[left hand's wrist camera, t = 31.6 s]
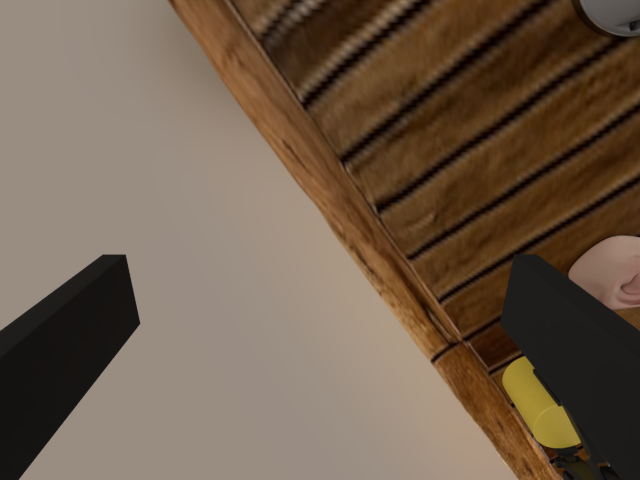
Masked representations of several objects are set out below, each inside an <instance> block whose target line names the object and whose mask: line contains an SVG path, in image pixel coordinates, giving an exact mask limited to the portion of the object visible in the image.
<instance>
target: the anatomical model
mask: <svg viewBox="0 0 640 480" xmlns="http://www.w3.org/2000/svg"><path fill="white" fill-rule="evenodd" d="M569 279H571V280H572V281H573V282H575V283H576V284H577V285H579V286H580V287H581V288H583V289H584V290H585V291H587V292H588V293H589V294H591V295H592V296H593V297H595V298H596V299H597V300H599V301H600V302H602V303H603V304H604V305H606V306H607V307H608V308H610V309H611V310H617V309H625V308H634V307H640V238H639V237H633V236H614V237H610V238H607V239H605V240H603V241H601V242H600V243H598V244H596V245H595V246H593V247H592V248H591V249H589V250H588V251H587V252H586V253H585V254H584V255H583V256H581V257H580V258H579V259H578V260H577V261H576V262H575V264H574V265H573V266H572V267H571V269H570V271H569Z"/></svg>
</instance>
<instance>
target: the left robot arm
mask: <svg viewBox="0 0 640 480" xmlns="http://www.w3.org/2000/svg"><path fill="white" fill-rule="evenodd" d="M572 3H573V6H574V8H575V10H576V12H577V14H578V16H579V17H580V18H581V20H582V21H583V22H584V23H585V24H586V25H587V26H588V27H589V28H591V29H592V30H593V31H595V32H597V33H599V34H601V35H604V36H608V37H614V38H627V37H633V36H639V35H640V0H572ZM139 325H140V320H139V315H138V311H137V306H136V301H135V297H134V292H133V287H132V282H131V278H130V273H129V268H128V263H127V259H126V255H102V256H100V257H99V258H98V259H96V260H95V261H94V262H92V263H91V264H90V265H88V266H87V267H86V268H84V269H83V270H82V271H80V272H79V273H78V274H76V275H75V276H74V277H72V278H71V279H69V280H68V281H67V282H65V283H64V284H63V285H61V286H60V287H59V288H57V289H56V290H55V291H53V292H52V293H51V294H49V295H48V296H47V297H45V298H44V299H43V300H41V301H40V302H39V303H37V304H36V305H34V306H33V307H32V308H30V309H29V310H28V311H26V312H25V313H24V314H22V315H21V316H20V317H18V318H17V319H16V320H14V321H13V322H12V323H10V324H9V325H8V326H6V327H5V328H4V329H2V330H1V331H0V480H19V479H20V477H21V476H22V475H23V473H24V472H25V471H26V470H27V468H28V467H29V466H30V464H31V463H32V462H33V461H34V459H35V458H36V457H37V455H38V454H39V453H40V452H41V450H42V449H43V448H44V446H45V445H46V444H47V443H48V441H49V440H50V439H51V437H52V436H53V435H54V434H55V432H56V431H57V430H58V428H59V427H60V426H61V425H62V423H63V422H64V421H65V420H66V418H67V417H68V416H69V414H70V413H71V412H72V411H73V409H74V408H75V407H76V405H77V404H78V403H79V402H80V400H81V399H82V398H83V396H84V395H85V394H86V393H87V391H88V390H89V389H90V387H91V386H92V385H93V384H94V382H95V381H96V380H97V378H98V377H99V376H100V375H101V373H102V372H103V371H104V369H105V368H106V367H107V366H108V364H109V363H110V362H111V361H112V359H113V358H114V357H115V355H116V354H117V353H118V352H119V350H120V349H121V348H122V346H123V345H124V344H125V343H126V341H127V340H128V339H129V337H130V336H131V335H132V334H133V332H134V331H135V330H136V329H137V327H138V326H139ZM500 325H501V326H502V327H503V329H504V330H505V331H506V332H507V334H508V335H509V336H510V337H511V339H512V340H513V341H514V343H515V344H516V345H517V346H518V348H519V349H520V350H521V352H522V353H523V354H524V355H525V357H526V358H527V359H528V361H529V362H530V363H531V364H532V366H533V367H534V368H535V370H536V371H537V372H538V373H539V375H540V376H541V377H542V379H543V380H544V381H545V382H546V384H547V385H548V386H549V387H550V389H551V390H552V391H553V393H554V394H555V395H556V396H557V398H558V399H559V400H560V402H561V403H562V404H563V405H564V407H565V408H566V409H567V411H568V412H569V413H570V414H571V416H572V417H573V418H574V420H575V421H576V422H577V423H578V425H579V426H580V427H581V429H582V430H583V431H584V432H585V434H586V435H587V436H588V438H589V439H590V440H591V441H592V443H593V444H594V445H595V446H596V448H597V449H598V450H599V452H600V453H601V454H602V455H603V457H604V458H605V459H606V461H607V462H608V463H609V464H610V466H611V467H612V468H613V470H614V471H615V472H616V473H617V475H618V476H619V477H620V479H621V480H640V331H639V330H638V329H636V328H635V327H634V326H632V325H631V324H630V323H628V322H627V321H626V320H624V319H623V318H622V317H620V316H619V315H618V314H616V313H615V312H614V311H612V310H611V309H610V308H608V307H607V306H606V305H604V304H603V303H601V302H600V301H599V300H597V299H596V298H595V297H593V296H592V295H591V294H589V293H588V292H587V291H585V290H584V289H583V288H581V287H580V286H579V285H577V284H576V283H575V282H573V281H572V280H571V279H569V278H568V277H567V276H565V275H564V274H562V273H561V272H560V271H558V270H557V269H556V268H554V267H553V266H552V265H550V264H549V263H548V262H546V261H545V260H544V259H542V258H541V257H540V256H538V255H514V259H513V263H512V268H511V273H510V278H509V282H508V287H507V292H506V297H505V301H504V306H503V311H502V315H501V320H500Z"/></svg>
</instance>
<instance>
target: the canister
mask: <svg viewBox="0 0 640 480" xmlns="http://www.w3.org/2000/svg"><path fill="white" fill-rule="evenodd" d="M533 369H535V368H534V367H533V366H532V364H531V363H530V362H529V361H528V359H527V358H526V357H525V356H524V357H521V358H519V359H517V360H515V361H514V362H512V363H511V364H510V365H509V366H508V367H507V369H506V370H505V372H504V374H503V378H502V382H503V386H504V388H505V390H506V391H507V393H508V395H509V396H510V398H511V400H512V401H513V403H514V404H515V406H516V408H517V409H518V411H519V412H520V414H521V416H522V417H523V419H524V420H525V422H526V424H527V425H528V427H529V428H530V430H531V432H532V433H533V435H534V437H535V438H536V439H537V441H538V442H540V443H541V444H543V445H545V446H547V447H551V448H566V447H571V446H574V445H577V444H579V443H581V441H580V439H579V437H578V435H577V433H576V432H575V430H574V428H573V426H572V424H571V422H570V420H569V418H568V416H567V414H566V412H565V410H564V408H563V407H562V406H559V407H558V405H557V404H556V403H555V401H554V400H553V399H552V397H551V396H550V395H549V393H548V392H547V391H546V389H545V388H544V387H543V386H542V384H541V383H540V382H539V380H538V379H537V378H536V376H535V375H534V374H533Z"/></svg>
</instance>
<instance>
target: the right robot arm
mask: <svg viewBox="0 0 640 480" xmlns="http://www.w3.org/2000/svg"><path fill="white" fill-rule="evenodd" d="M533 374H534V375H535V376H536V378H537V379H538V380H539V382H540V383H541V384H542V386H543V387H544V388H545V389H546V391H547V392H548V393H549V395H550V396H551V397H552V399H553V400H554V401H555V403H556V404H557V405H558V407H559V406H562V407H563V408H564V410H565V412H566V414H567V416H568V418H569V420H570V422H571V424H572V426H573V428H574V430H575V432H576V433H577V435H578V437H579V439H580V441H581V443H582V445H583V447H584V449H585V451H586V453H587V455H588V458H587V459H586V461H587V463H586V462H585V461H583V460H582V459H581V458H580V457H579V456H574V455H573V454H576V453H578V449H577V448H576V447H575V445H574V446H571V447H566V448H553V449H554V451H555V452H556V454H557V455H558V456H560V457H561V458H559V459H554V462H555V464H556V466H557V468H562V467H563V468H564V469H565V470H566V471H562V473H563V477H564V478H565V480H621V479H620V477H619V476H618V475H617V473H616V472H615V471H614V470H613V468H612V467H611V466H610V464H609V463H608V462H607V461H606V459H605V458H604V457H603V455H602V454H601V453H600V452H599V450H598V449H597V448H596V446H595V445H594V444H593V443H592V441H591V440H590V439H589V438H588V436H587V435H586V434H585V432H584V431H583V430H582V429H581V427H580V426H579V425H578V423H577V422H576V421H575V420H574V418H573V417H572V416H571V414H570V413H569V412H568V411H567V409H566V408H565V407H564V405H563V404H562V403H561V402H560V400H559V399H558V398H557V396H556V395H555V394H554V393H553V391H552V390H551V389H550V387H549V386H548V385H547V384H546V382H545V381H544V380H543V379H542V377H541V376H540V375H539V373H538V372H537V371H536V370H535V369H533ZM605 462H606V464H607V465H605V466H600V467H598V465H597V464H598V463H605Z"/></svg>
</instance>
